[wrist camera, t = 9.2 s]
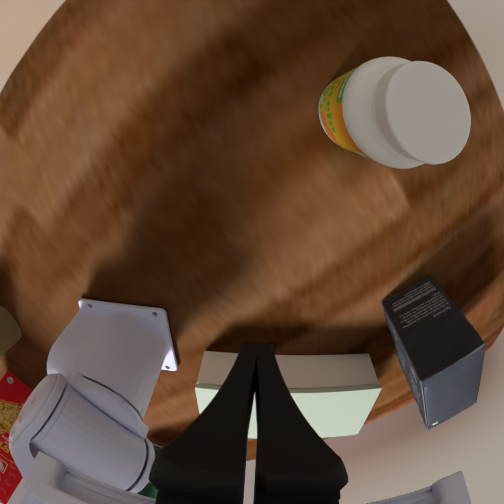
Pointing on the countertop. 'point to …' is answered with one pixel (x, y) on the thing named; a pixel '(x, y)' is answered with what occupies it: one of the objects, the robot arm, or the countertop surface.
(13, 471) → the food packaging
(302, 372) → the keepsake box
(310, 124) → the countertop surface
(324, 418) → the lid
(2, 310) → the olive pepper mill
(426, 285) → the box
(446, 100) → the supplement bottle
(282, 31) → the countertop surface
